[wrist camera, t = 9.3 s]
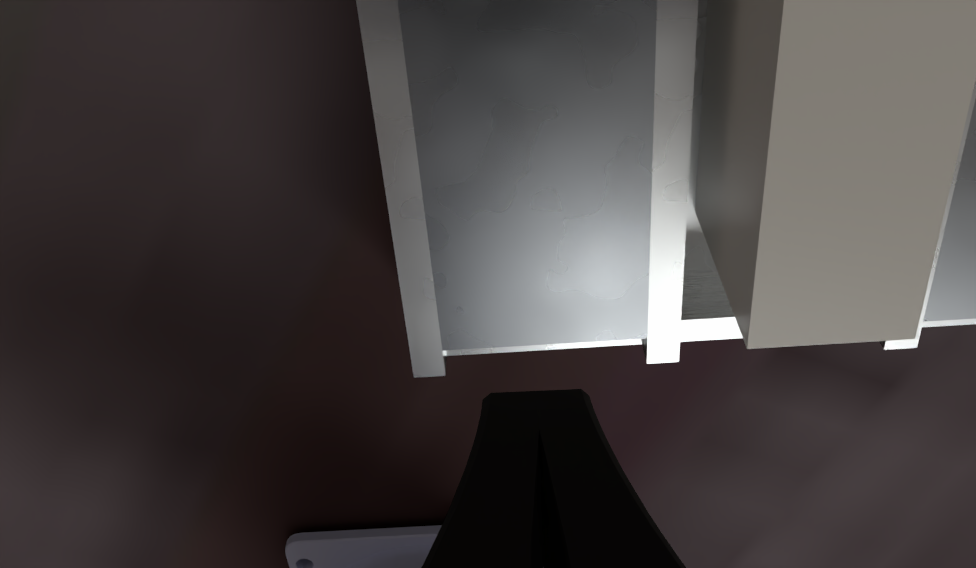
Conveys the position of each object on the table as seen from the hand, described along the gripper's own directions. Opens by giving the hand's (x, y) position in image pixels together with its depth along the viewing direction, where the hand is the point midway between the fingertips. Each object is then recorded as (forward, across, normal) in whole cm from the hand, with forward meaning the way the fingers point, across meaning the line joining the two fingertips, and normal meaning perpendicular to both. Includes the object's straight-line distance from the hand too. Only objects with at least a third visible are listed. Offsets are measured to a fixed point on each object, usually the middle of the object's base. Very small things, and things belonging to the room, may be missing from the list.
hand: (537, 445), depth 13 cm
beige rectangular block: (+9, -5, -2) cm, 11 cm away
